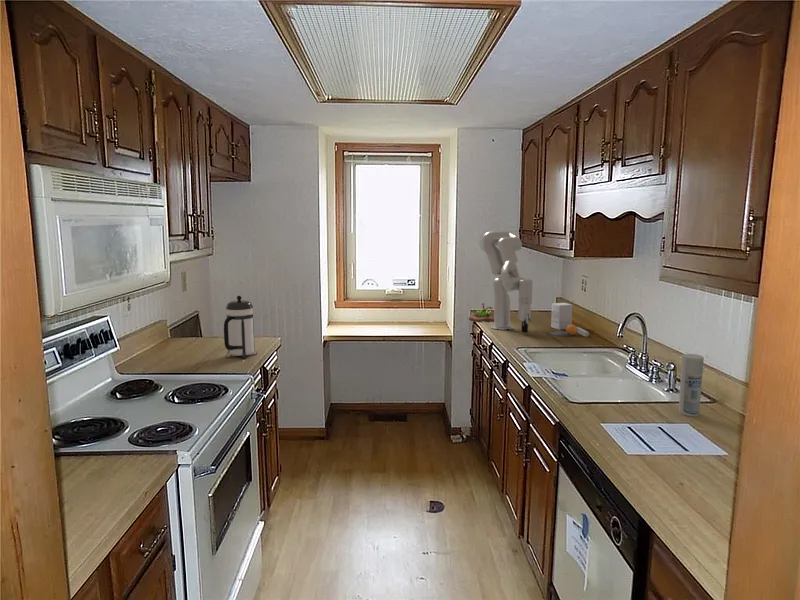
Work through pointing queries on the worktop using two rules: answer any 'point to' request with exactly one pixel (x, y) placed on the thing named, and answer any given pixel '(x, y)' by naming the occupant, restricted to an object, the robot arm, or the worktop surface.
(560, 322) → the supplement box
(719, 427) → the worktop surface
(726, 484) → the worktop surface
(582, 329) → the stopper wall
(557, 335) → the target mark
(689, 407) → the spray can
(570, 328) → the ball
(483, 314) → the plant
